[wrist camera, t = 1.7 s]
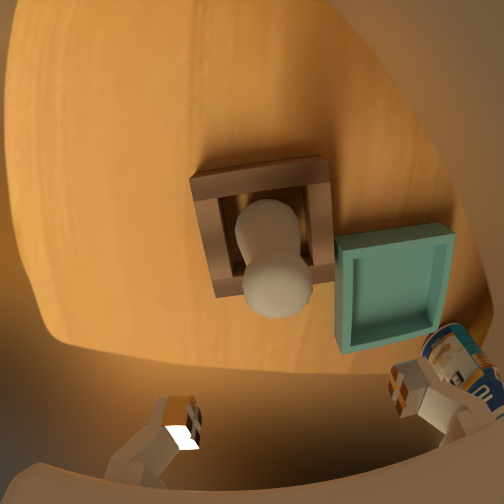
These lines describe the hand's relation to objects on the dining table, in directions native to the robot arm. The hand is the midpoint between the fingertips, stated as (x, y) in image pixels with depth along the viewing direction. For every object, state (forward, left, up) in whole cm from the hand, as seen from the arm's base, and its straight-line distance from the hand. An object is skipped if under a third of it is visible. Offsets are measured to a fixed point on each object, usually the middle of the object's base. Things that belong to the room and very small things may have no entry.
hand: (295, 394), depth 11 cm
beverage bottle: (+22, +24, -20) cm, 38 cm away
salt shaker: (0, 0, -20) cm, 20 cm away
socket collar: (0, 0, -20) cm, 20 cm away
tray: (+9, +13, -20) cm, 25 cm away
